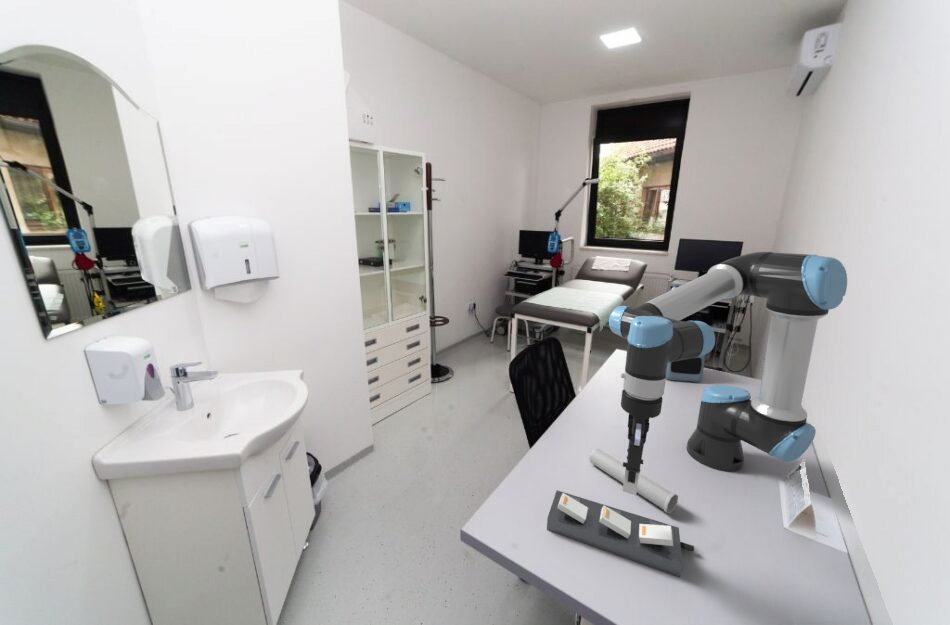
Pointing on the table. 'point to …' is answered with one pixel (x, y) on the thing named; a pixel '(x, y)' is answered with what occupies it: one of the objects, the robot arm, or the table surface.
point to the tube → (644, 486)
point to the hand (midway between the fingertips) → (629, 490)
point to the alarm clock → (686, 369)
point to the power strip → (617, 536)
